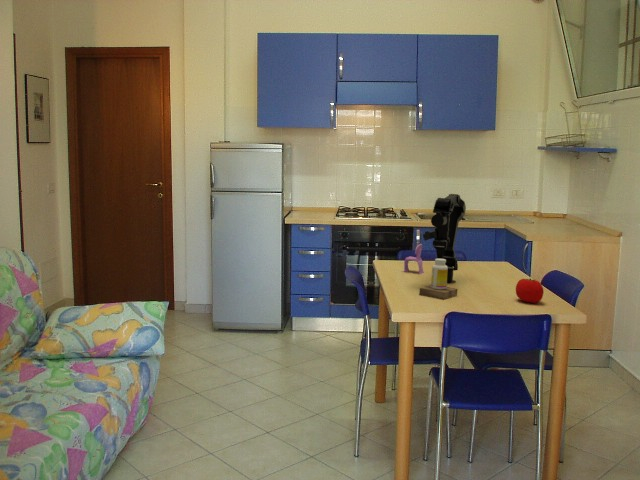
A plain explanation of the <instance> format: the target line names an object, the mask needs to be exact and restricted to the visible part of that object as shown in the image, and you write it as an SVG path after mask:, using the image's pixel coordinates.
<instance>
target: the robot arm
mask: <svg viewBox="0 0 640 480" xmlns="http://www.w3.org/2000/svg"><path fill="white" fill-rule="evenodd" d="M465 212H466V204H465V201H464V199H462V198H461V195H460V194H455V193H449V194H448V196H445V197H438V198H436V200H435V202H434V206H433V209H432V213H433V214H434V215H432V217H431V219H430V223H431V225H432V226H433V227H435V228H434V230H432V231H429V230H427V231H424V233H422V238H423V241H424V242H426V241H428V240H432V239H433V240H432V248H434V249H435V250H436V259H445V260H446V263H445V265H446V266H447V267H448V272H447V284H451V283H452V284H453V283H456V280H454V271H458V269H459V265H458V264H459V263H458V259H457V254H456V252H455V247H456V240H457V234H458V229H459V228H458V227H459V223H460V222H461V220H462V219H463V217H464V214H465Z"/></svg>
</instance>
